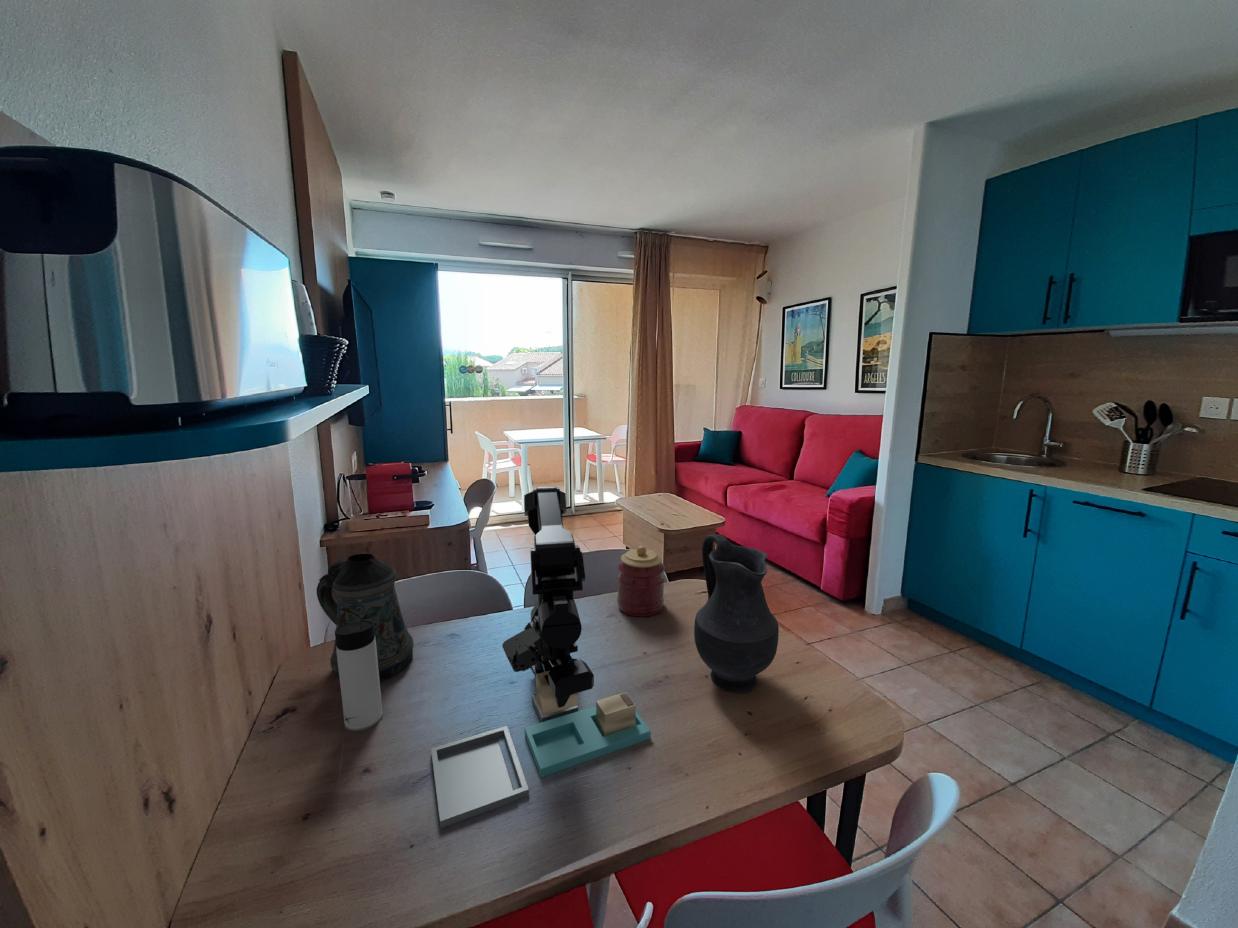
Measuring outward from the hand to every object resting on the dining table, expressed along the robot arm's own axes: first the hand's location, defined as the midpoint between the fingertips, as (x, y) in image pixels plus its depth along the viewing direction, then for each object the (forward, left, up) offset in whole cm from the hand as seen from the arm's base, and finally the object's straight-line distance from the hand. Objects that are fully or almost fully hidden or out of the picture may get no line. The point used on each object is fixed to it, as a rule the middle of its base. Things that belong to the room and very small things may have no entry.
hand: (557, 698), depth 83 cm
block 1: (0, 0, -1) cm, 1 cm away
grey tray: (0, -14, -10) cm, 17 cm away
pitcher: (-5, +40, -11) cm, 42 cm away
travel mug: (-21, -31, -11) cm, 39 cm away
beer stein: (-41, -31, -11) cm, 53 cm away
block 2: (0, +11, -9) cm, 14 cm away
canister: (-40, +37, -11) cm, 56 cm away
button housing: (-9, +2, -10) cm, 14 cm away
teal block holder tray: (0, +5, -10) cm, 12 cm away
